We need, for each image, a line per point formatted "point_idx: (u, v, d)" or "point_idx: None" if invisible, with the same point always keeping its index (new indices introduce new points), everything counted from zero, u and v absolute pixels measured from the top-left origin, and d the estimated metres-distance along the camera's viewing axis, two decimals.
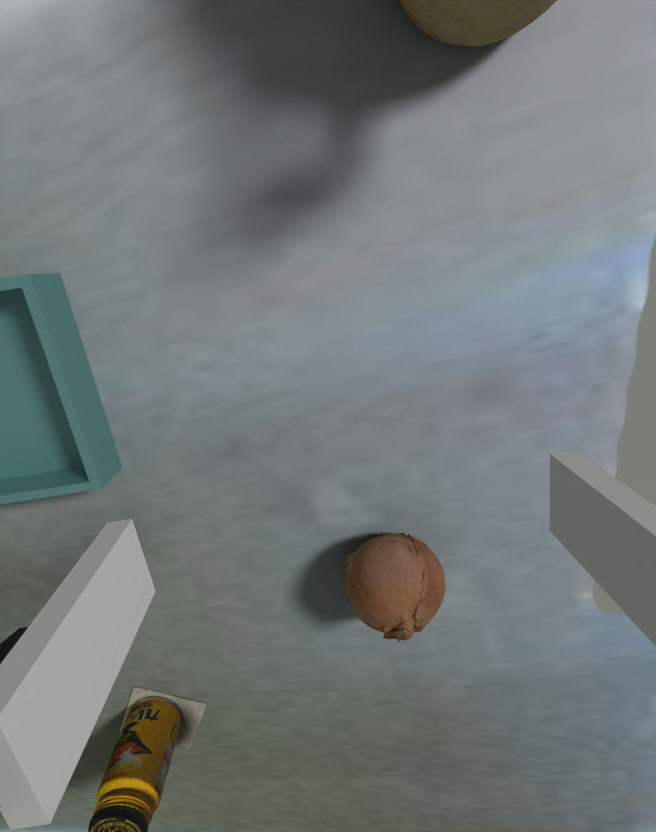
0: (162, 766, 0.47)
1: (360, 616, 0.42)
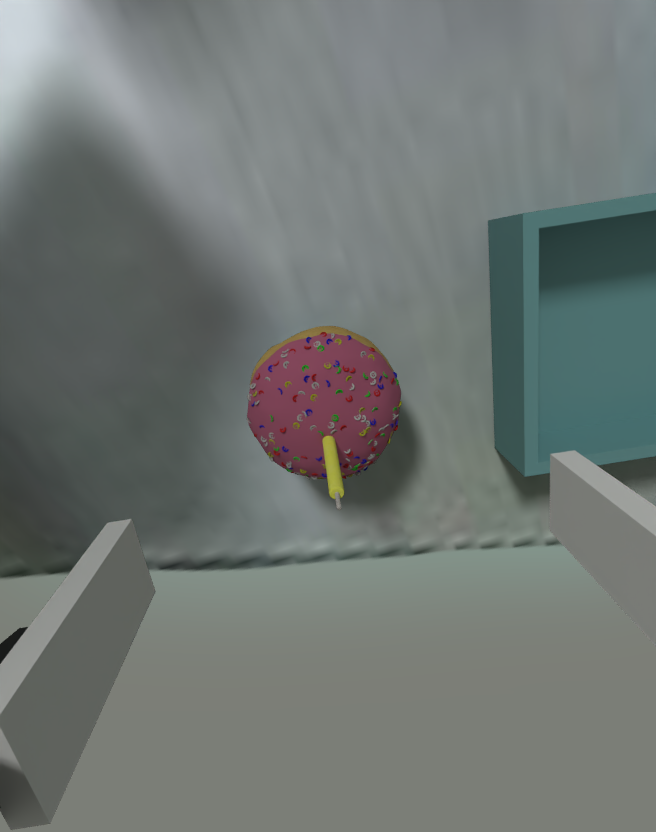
0: None
1: None
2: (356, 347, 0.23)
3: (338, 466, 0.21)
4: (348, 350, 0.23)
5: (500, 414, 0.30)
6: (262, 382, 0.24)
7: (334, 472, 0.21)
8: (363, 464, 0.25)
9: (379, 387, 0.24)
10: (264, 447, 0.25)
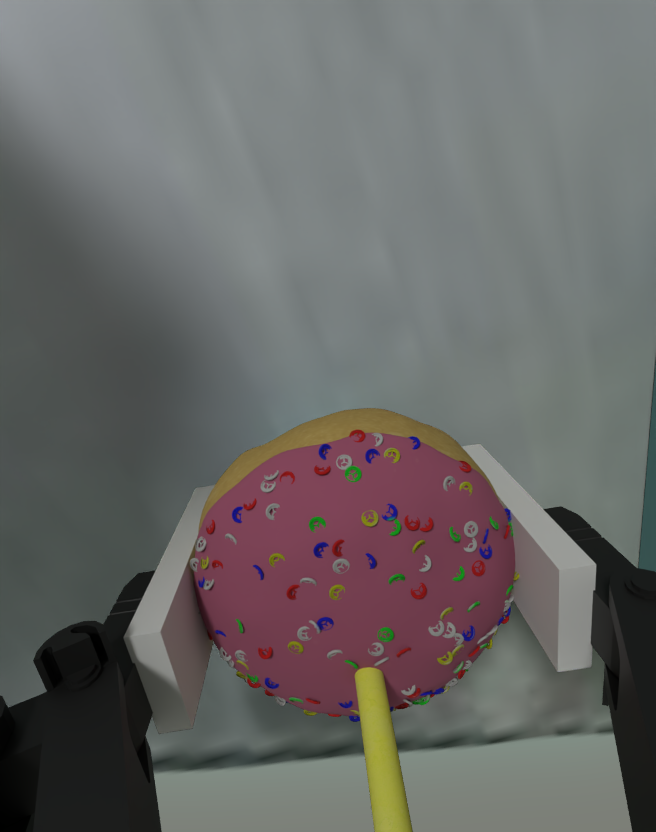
0: None
1: None
2: (432, 466, 0.10)
3: (405, 813, 0.08)
4: (415, 477, 0.10)
5: None
6: (220, 539, 0.11)
7: None
8: None
9: (482, 555, 0.11)
10: None
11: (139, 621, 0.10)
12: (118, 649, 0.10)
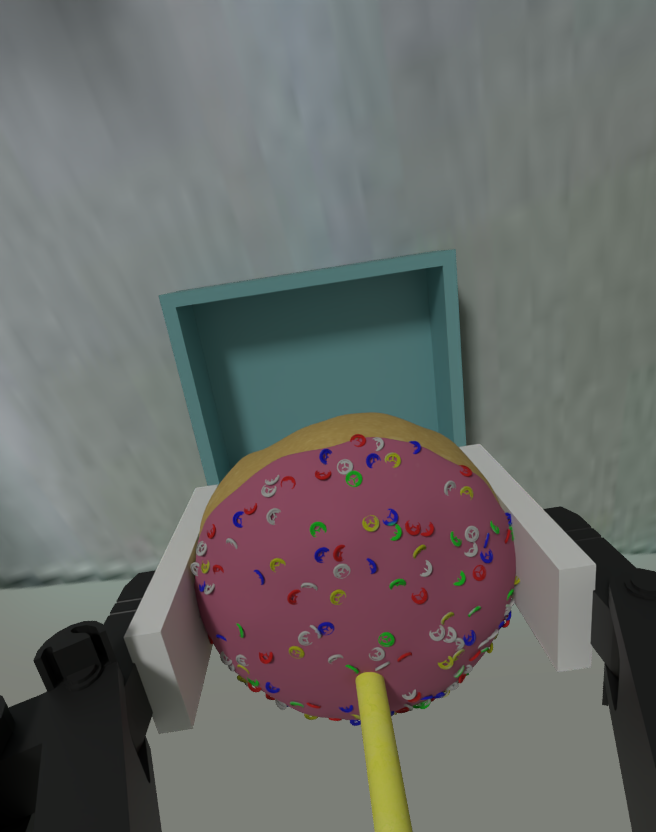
0: None
1: None
2: (433, 471, 0.10)
3: (406, 819, 0.08)
4: (416, 481, 0.10)
5: None
6: (220, 544, 0.11)
7: None
8: None
9: (483, 560, 0.11)
10: None
11: (139, 621, 0.10)
12: (118, 649, 0.10)
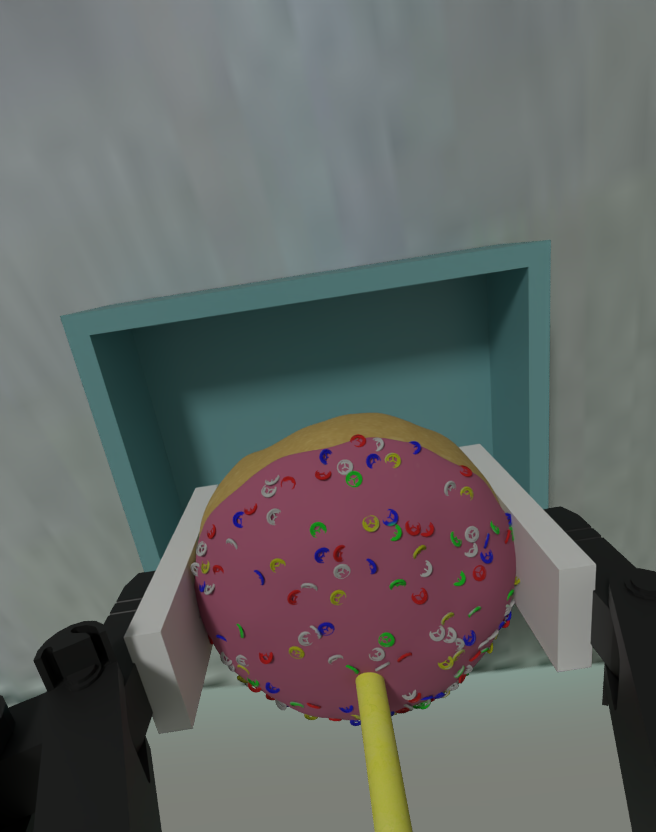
0: None
1: None
2: (433, 471, 0.10)
3: (407, 820, 0.08)
4: (415, 481, 0.10)
5: None
6: (221, 544, 0.11)
7: None
8: None
9: (483, 560, 0.10)
10: None
11: (139, 621, 0.10)
12: (118, 649, 0.10)
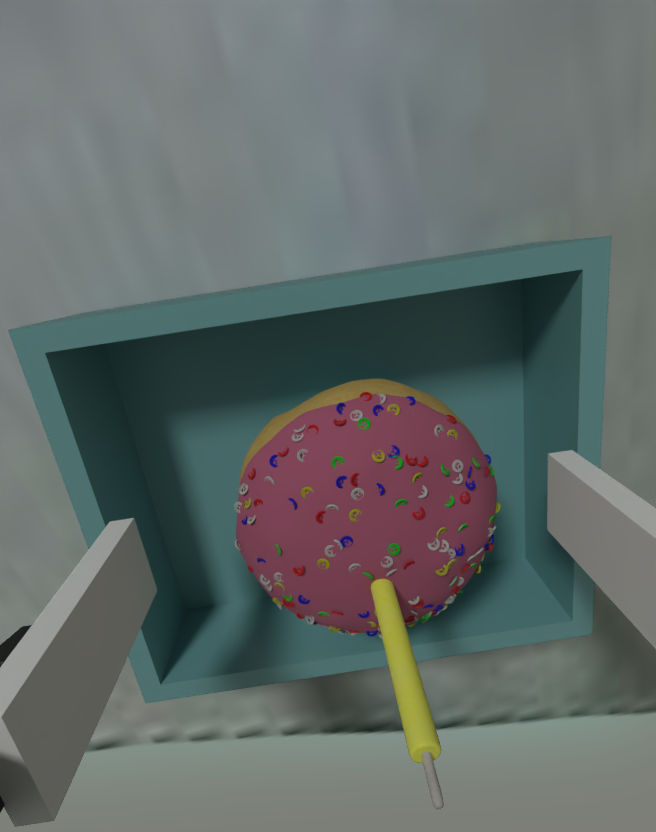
0: None
1: None
2: (425, 418, 0.13)
3: (415, 666, 0.11)
4: (412, 425, 0.13)
5: None
6: (259, 483, 0.13)
7: (411, 689, 0.10)
8: (436, 610, 0.15)
9: (467, 487, 0.13)
10: (266, 589, 0.15)
11: None
12: None
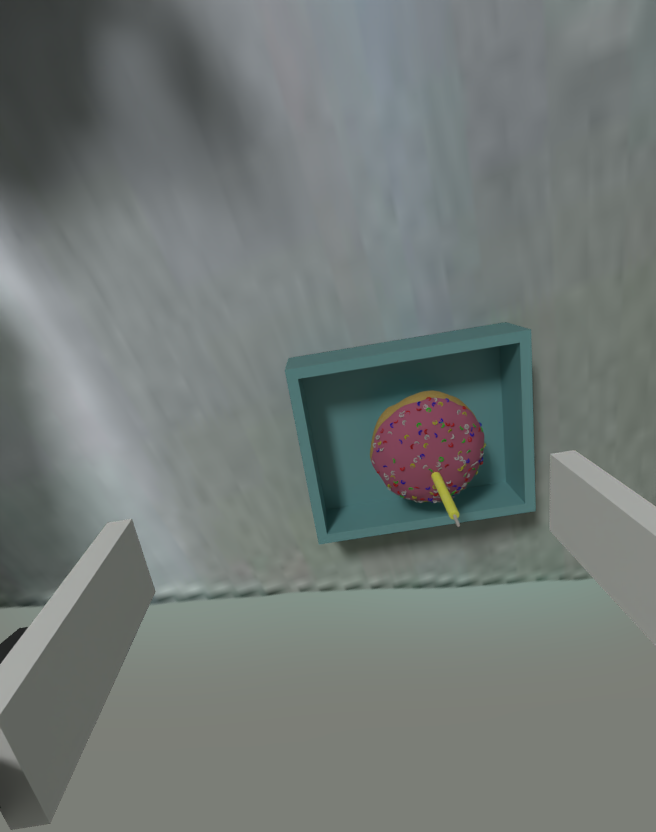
0: None
1: None
2: (453, 407, 0.32)
3: (450, 495, 0.30)
4: (448, 410, 0.32)
5: None
6: (384, 434, 0.33)
7: (449, 500, 0.30)
8: (458, 490, 0.34)
9: (470, 435, 0.33)
10: (385, 480, 0.34)
11: None
12: None
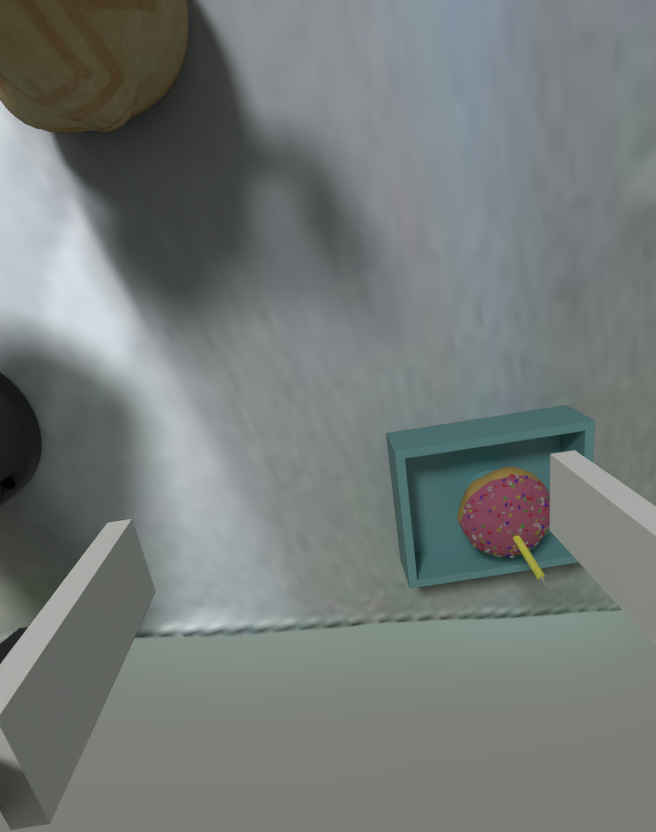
0: None
1: None
2: (531, 483, 0.40)
3: None
4: (527, 486, 0.40)
5: (400, 543, 0.47)
6: (475, 504, 0.41)
7: (534, 563, 0.37)
8: (531, 547, 0.42)
9: (545, 506, 0.40)
10: (472, 540, 0.42)
11: None
12: None
